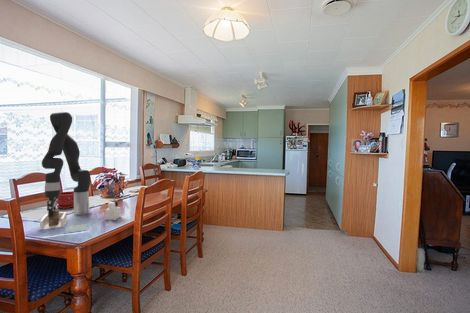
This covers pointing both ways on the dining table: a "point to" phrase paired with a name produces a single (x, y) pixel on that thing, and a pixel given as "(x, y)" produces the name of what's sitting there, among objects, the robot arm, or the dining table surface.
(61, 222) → the cream curved tray
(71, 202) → the plant pot
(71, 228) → the grey-green mat
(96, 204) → the dining table surface
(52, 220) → the walnut block
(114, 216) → the medicine bottle
